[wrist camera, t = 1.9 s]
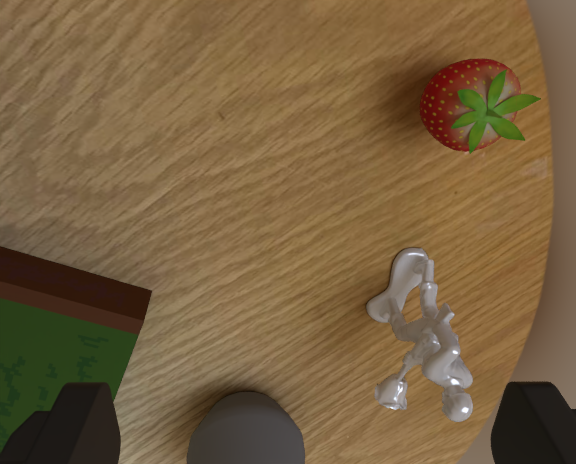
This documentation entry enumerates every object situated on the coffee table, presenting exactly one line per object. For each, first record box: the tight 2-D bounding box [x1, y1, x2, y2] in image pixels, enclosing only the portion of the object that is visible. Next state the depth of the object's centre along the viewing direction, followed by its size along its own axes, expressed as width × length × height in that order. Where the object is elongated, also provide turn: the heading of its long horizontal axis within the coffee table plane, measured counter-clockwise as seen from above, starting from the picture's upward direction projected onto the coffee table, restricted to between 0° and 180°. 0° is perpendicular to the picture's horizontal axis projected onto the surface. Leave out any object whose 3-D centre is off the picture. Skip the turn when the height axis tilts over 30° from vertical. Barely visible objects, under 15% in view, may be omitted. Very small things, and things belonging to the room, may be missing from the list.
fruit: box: [420, 59, 541, 154], centre depth 28 cm, size 5×5×8 cm
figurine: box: [366, 248, 473, 422], centre depth 33 cm, size 5×9×12 cm, turn 165°
